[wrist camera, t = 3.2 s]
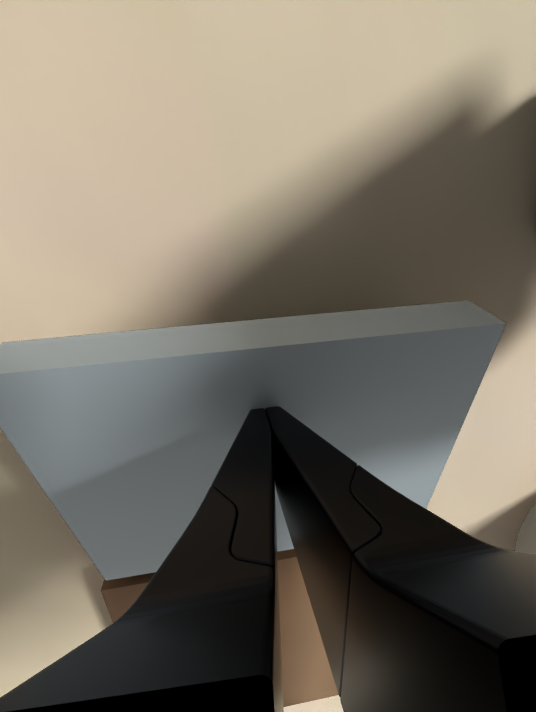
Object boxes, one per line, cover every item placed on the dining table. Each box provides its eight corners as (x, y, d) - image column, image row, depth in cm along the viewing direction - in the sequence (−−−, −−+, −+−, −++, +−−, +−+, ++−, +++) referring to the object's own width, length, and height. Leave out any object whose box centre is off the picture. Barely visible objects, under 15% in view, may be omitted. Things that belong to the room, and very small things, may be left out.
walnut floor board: (403, 506, 16) (423, 535, 14) (383, 648, 20) (396, 682, 19) (113, 553, 14) (100, 590, 13) (162, 695, 19) (157, 734, 17)
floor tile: (468, 300, 10) (506, 323, 8) (400, 496, 15) (417, 527, 14) (2, 342, 8) (-35, 377, 7) (115, 541, 14) (105, 580, 13)
